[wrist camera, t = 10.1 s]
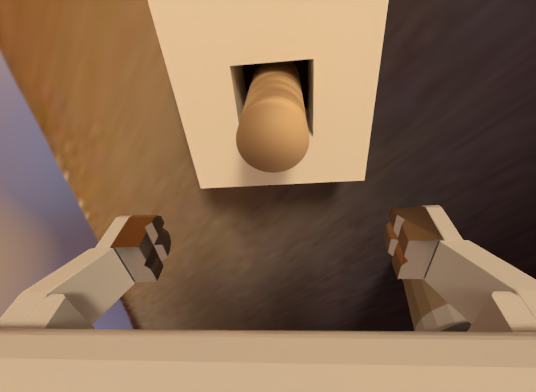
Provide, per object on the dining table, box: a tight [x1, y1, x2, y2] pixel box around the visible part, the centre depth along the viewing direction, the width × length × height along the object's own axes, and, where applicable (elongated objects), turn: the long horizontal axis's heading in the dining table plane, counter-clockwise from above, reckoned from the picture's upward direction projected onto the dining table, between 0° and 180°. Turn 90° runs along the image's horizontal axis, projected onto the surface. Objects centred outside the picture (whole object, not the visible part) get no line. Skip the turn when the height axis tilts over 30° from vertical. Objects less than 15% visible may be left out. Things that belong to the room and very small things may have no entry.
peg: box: [236, 61, 309, 173], centre depth 21 cm, size 4×4×12 cm
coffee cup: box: [403, 279, 472, 332], centre depth 32 cm, size 11×11×15 cm
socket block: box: [148, 0, 389, 188], centre depth 23 cm, size 14×14×6 cm
